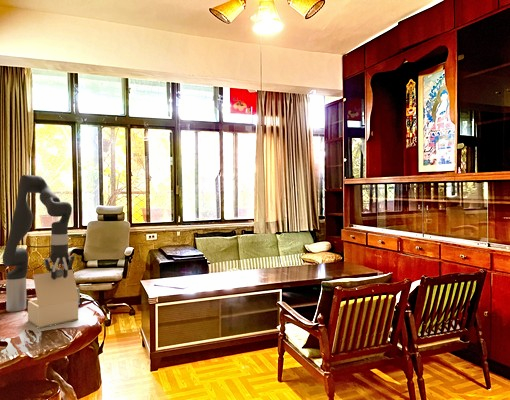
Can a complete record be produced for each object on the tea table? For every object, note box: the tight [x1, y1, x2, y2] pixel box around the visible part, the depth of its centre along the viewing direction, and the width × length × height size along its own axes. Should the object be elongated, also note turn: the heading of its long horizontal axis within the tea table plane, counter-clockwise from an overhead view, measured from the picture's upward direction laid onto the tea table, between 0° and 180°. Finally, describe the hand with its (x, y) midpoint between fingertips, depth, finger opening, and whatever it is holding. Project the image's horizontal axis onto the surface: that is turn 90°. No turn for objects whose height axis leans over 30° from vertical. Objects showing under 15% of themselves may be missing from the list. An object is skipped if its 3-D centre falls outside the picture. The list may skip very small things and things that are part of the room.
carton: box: [27, 298, 79, 329], centre depth 193 cm, size 16×18×10 cm
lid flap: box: [32, 268, 79, 307], centre depth 187 cm, size 16×18×9 cm
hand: (59, 278), depth 187 cm, fingers closed on lid flap, 4 cm apart
